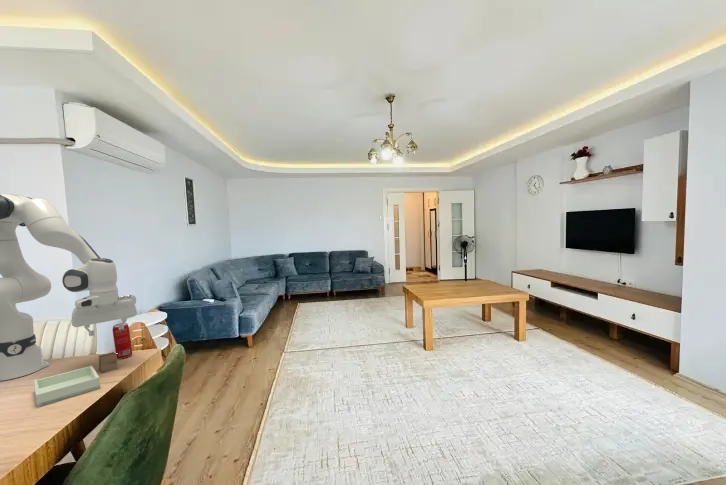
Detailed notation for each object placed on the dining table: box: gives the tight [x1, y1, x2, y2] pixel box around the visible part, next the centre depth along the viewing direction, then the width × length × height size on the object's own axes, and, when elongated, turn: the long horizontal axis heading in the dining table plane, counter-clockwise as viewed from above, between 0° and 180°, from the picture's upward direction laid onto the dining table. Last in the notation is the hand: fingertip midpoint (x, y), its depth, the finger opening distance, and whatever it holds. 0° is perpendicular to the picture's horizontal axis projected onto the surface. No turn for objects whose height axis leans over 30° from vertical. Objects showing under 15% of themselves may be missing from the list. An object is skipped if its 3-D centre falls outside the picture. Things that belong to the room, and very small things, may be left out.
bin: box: [33, 365, 101, 408], centre depth 111 cm, size 16×16×4 cm
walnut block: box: [98, 351, 118, 374], centre depth 127 cm, size 5×5×6 cm
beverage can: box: [112, 322, 133, 360], centre depth 140 cm, size 6×6×15 cm
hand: (106, 332), depth 127 cm, fingers open, 8 cm apart
